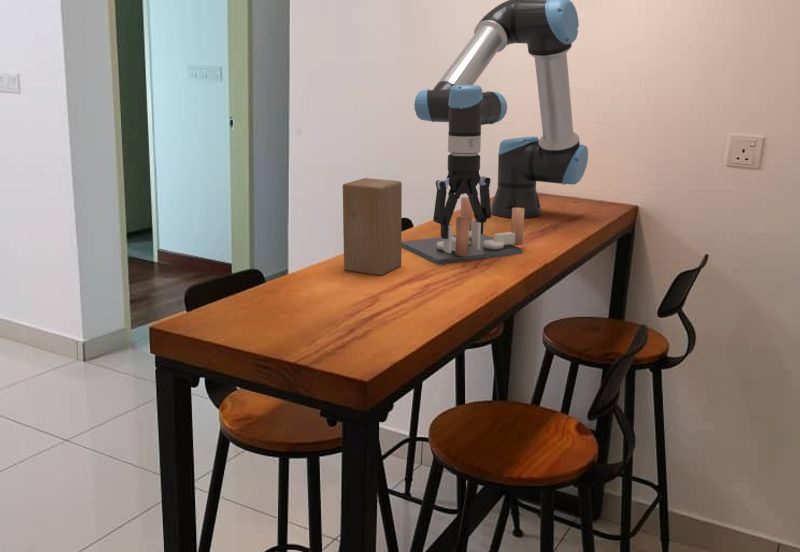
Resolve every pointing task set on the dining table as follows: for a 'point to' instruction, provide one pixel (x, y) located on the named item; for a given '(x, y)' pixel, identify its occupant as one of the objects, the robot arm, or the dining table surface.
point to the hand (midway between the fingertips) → (461, 249)
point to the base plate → (431, 253)
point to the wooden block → (372, 225)
